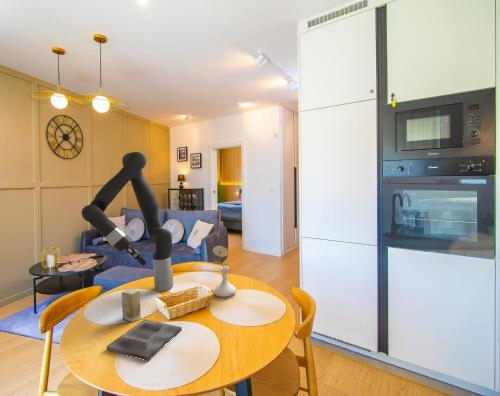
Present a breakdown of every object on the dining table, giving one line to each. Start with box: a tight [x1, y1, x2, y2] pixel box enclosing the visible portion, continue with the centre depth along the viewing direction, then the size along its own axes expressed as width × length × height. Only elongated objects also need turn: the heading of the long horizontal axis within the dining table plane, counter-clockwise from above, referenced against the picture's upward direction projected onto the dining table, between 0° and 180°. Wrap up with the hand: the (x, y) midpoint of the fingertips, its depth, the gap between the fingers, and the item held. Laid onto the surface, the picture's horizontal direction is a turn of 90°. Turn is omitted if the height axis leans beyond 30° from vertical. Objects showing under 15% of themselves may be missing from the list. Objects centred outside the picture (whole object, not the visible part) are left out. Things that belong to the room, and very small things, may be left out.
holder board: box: [106, 319, 183, 362], centre depth 93 cm, size 18×18×4 cm
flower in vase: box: [212, 245, 237, 298], centre depth 130 cm, size 13×11×25 cm
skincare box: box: [121, 288, 141, 323], centre depth 108 cm, size 6×4×12 cm
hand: (144, 263), depth 120 cm, fingers open, 8 cm apart
